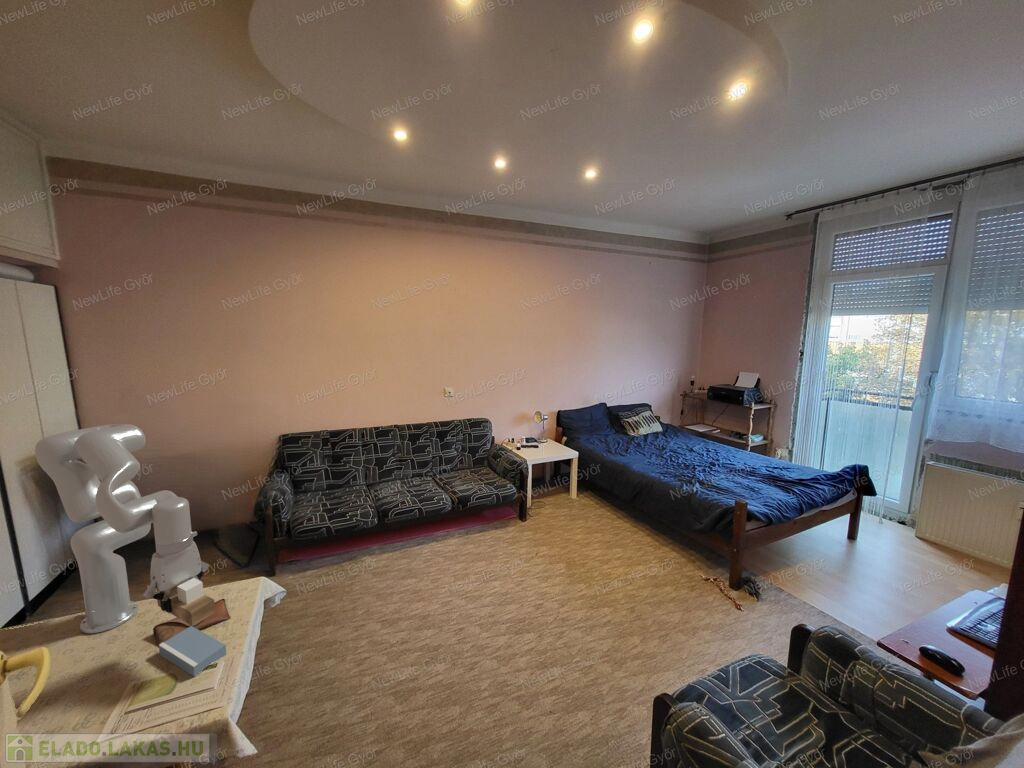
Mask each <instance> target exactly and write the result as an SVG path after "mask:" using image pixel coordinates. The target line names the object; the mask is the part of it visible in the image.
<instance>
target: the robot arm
mask: <svg viewBox="0 0 1024 768" xmlns="http://www.w3.org/2000/svg"><path fill="white" fill-rule="evenodd" d="M146 441H147V440H146V435H145V433H144V432H143V430H142V429H141V428H140V427H138V426H136V425H135V424H132V423H131V424H129V423H120V424H119V423H108V424H104V425H103V424H102V425H97V426H92V427H86V428H81V429H75V430H68V431H63V432H59V433H55V434H51V435H49V436H46V437H44V438H42V439H40V440H39V441H38V442H37V443H36V444H35V447H34V455H35V458H36V460H37V461H36V462H37V463H38V465H39V466H40V467H41V469H42V470H43V472H44V473H46V474H47V475H48V476H49V477H50V479H51V480H52V481H53V483H54V485H55V486H56V487H55V488H56V490H57V492H58V495H59V498H60V501H61V503H62V505H63V509H64V510H65V513H66V514H67V517H68V518H69V520H70V521H72V522H74V523H83V522H88V521H91V520H94V519H97V518H100V517H102V520H100V521H98V522H94V523H92V524H89V525H87V526H85V527H82V528H80V529H79V530H77V531H76V532H75V533H74V534H73V535H72V536H71V538H70V548H71V550H72V553H73V555H74V557H75V560H76V562H77V565H78V570H79V575H80V577H79V578H80V582H81V589H82V594H83V595H82V596H83V601H84V602H83V603H84V608H85V615H86V616H85V617H84V618H83V619H82V620H81V622H80V625H79V628H80V632H82V633H84V634H99V633H102V632H103V633H104V632H107V631H109V630H112V629H114V628H117V627H118V626H120V625H123V624H125V623H126V622H128V621H129V620H130V619H131V618H133V617H134V616H135V614H137V612H138V610H139V609H138V608H139V607H138V603H137V602H135V601H132V600H130V599H131V597H130V590H129V583H128V581H129V580H128V574H127V567H126V566H127V565H126V561H125V558H124V557H123V556H121V555H119V554H118V553H114V551H115V550H117V549H119V548H121V547H123V546H126V545H128V544H130V543H133V542H136V541H137V540H140V539H142V538H144V537H146V536H147V535H148V534H149V533H150V531H151V529H152V528H151V527H152V526H151V525H152V524H153V533H154V541H155V542H154V543H155V552H153V554H152V555H151V556H152V557H151V561H150V575H149V576H150V578H149V579H150V584H149V585H148V587H147V588H146V589H145V591H144V593H143V594H142V596H143V597H144V598H146V599H154V600H160V605H161V607H160V610H161V611H162V612H165V613H168V614H171V613H170V612H172V607H171V599H170V598H169V594H170V590H171V588H173V587H175V586H177V585H179V584H181V583H185V582H187V581H189V580H190V579H192V578H195V579H197V580H199V581H201V580H202V577H203V576H204V574H205V572H206V571H207V569H208V568H209V567H210V563H207V562H204V561H202V559H201V556H200V552H199V549H198V546H197V544H196V542H195V541H194V537H196V536H198V532H197V531H196V530H194V531H192V521H191V513H190V512H191V511H190V502H189V500H188V499H186V498H185V497H183V496H182V497H181V496H178V495H176V494H175V492H173V491H171V490H167V489H165V490H164V489H163V490H159V491H156V492H153V493H151V494H147V495H145V496H142V495H141V493H140V491H139V488H138V487H137V485H136V484H135V483H134V482H133V481H132V479H133V478H134V477H135V476H136V475H137V474H138V473H139V472H140V469H141V464H140V462H139V460H137V458H136V457H135V456H134V455H133V452H137V451H140V450H142V449H143V448H144V447H145V444H146ZM80 459H82V461H83V462H82V461H80ZM156 589H158V592H157V591H156V592H155V590H156ZM132 603H137V604H133V605H128V604H132ZM92 611H95V612H92Z"/></svg>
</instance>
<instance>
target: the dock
mask: <svg viewBox="0 0 1024 768" xmlns="http://www.w3.org/2000/svg"><path fill="white" fill-rule="evenodd" d="M158 648H159V649H158V650H159V656H161V657H163V658H164V659H165V660H167V661H169V662H171V663H172V664H174V665H175V666H177V667H178V668H180V669H181V670H183V671H184V672H186V673H188V674H189V675H191V676H193V677H197V676H198V675H200V674H199V672H201V671H202V670H203V669H204V668H205V667H207V666H208V665H209V664H211V663H212V662H214V661H216V660H218V659H219V660H221V659H222V658H223V657H224V656H226V655H227V648H226V644H225V643H223V642H221V641H219V640H217V639H216V638H214V637H212V636H210V635H208V634H206V633H205V632H203V631H202V630H201V631H200V630H198V629H196V628H194V627H193V626H190V627H189V628H187V629H185V630H184V631H182V632H180V633H179V634H177V635H175V636H174V637H172V638H170V639H169V640H167V641H166V642H164V643H161V644H159V647H158ZM221 657H222V658H221ZM220 658H221V659H220ZM219 660H218V661H219ZM216 662H217V661H216ZM202 672H203V671H202ZM202 672H201V673H202ZM197 674H198V675H197ZM196 675H197V676H196Z"/></svg>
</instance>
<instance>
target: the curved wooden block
mask: <svg viewBox="0 0 1024 768" xmlns="http://www.w3.org/2000/svg"><path fill="white" fill-rule="evenodd" d="M183 583H184V582H183ZM183 583H181V584H183ZM181 584H179V585H181ZM179 585H177V586H179ZM177 586H175V587H173V588H171V590H170V594H169V598H170V599H171V607H172V612H170V613H169V614H171V615H173V616H174V617H175V618H177V617H178V618H179V619H181V620H183V621H184V622H186V623H188V624H190V625H191V626H194V625H196V624H197V623H199V622H200V621H202V620H204V619H205V618H207V617H209V616H210V615H212V614H214V613H215V599H214V598H212V597H211V596H208V595H206V594H204V595H203V596H202V597H200V598H198V599H196V600H194V601H192V602H191V603H189V604H185V603H184V602H182V601H180V600H178V591H177ZM156 600H157V599H156ZM156 602H157V606H158V607H159V608H161V605H160V600H157V601H156Z"/></svg>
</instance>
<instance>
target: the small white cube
mask: <svg viewBox="0 0 1024 768" xmlns="http://www.w3.org/2000/svg"><path fill="white" fill-rule="evenodd" d="M177 591H178V600H180V601H182V602H184V603H185V604H189V603H191V602H192V601H194V600H196V599H198V598H200V597H202V596H203V595H204V583H203V581H201V580H200V581H199V580H197V579H195V578H192V579H190V580H187V581H185V582H183V584H181V585H179V586H177Z"/></svg>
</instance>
